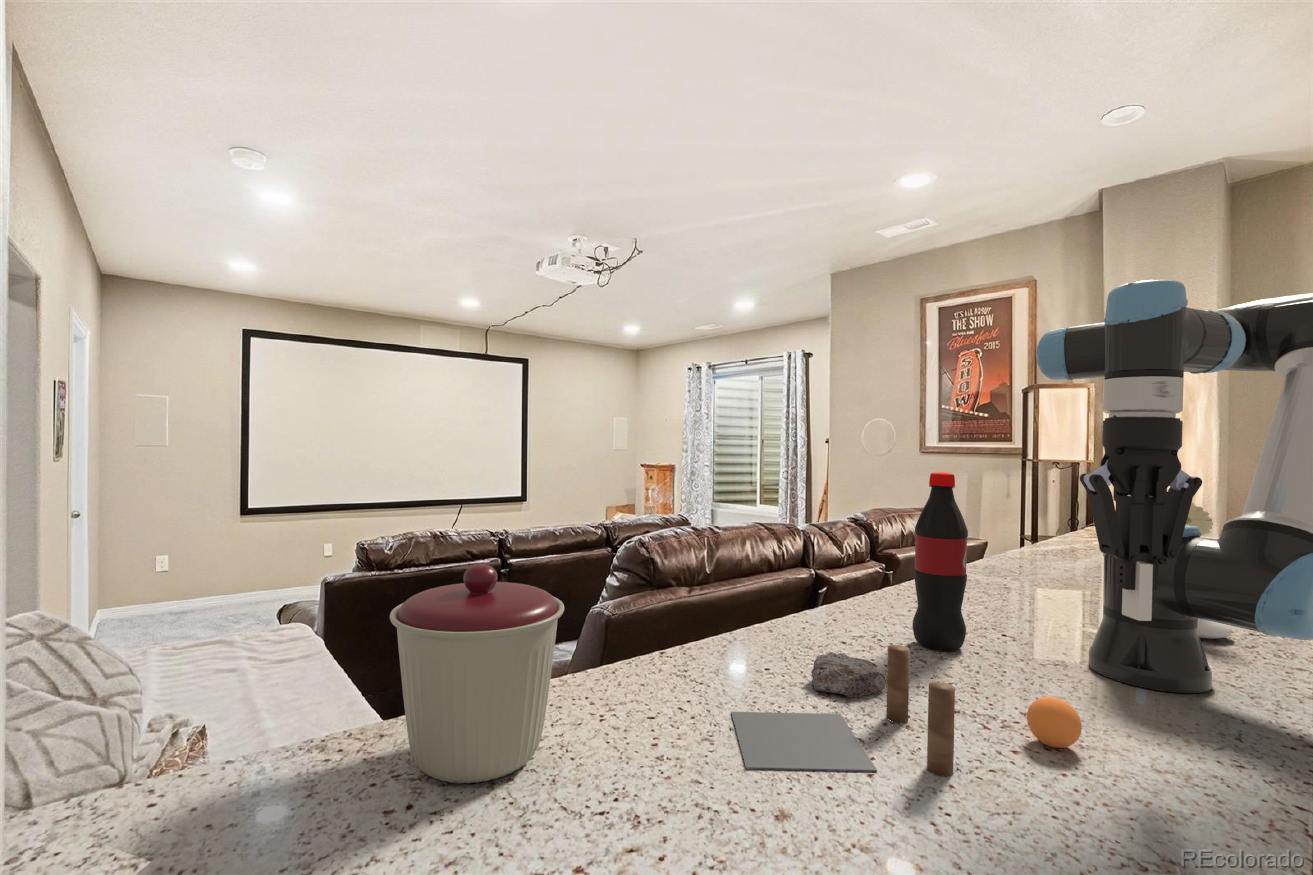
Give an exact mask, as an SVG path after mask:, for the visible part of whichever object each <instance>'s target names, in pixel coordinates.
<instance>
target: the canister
mask: <svg viewBox="0 0 1313 875" xmlns="http://www.w3.org/2000/svg"><path fill="white" fill-rule="evenodd" d="M564 612H565V605H564V603H563V602H562V600H560V599H559V598H557V597H555V596H553V595H552V594H551V593H549V592H548V591H547V590H544V589H542V588H540V587H537V586H534V585H533V586H532V585H529V584H526V583H517V582H509V581H498V573H497V570H496V569H495V568H494V567H493V566H491V565H488V564H482V563H481V564H475V565H472V566H470V567H467V569H466V570H465V572H464V573H463V583H462V582H461V583H454V584H447V585H443V586H442V585H441V586H436V587H433V588H429V589H426V590H423V591H420V592H418V593H416V594H413V595H412V596H410V597H409V598H407V599H406V600H405V601H404V602H403V603H400V604H399V605H397V606H395V607H394V608H393V609H392V610H391V612H390V614H389V620H390V622H391V624H392V625H393V626H394V627H395V628H396V630H397V631H396V634H397V635H396V636H397V644H398V647H397V648H398V656H399V667H400V678H401V687H402V688H401V689H402V699H403V707H404V715H405V723H406V730H407V739H408V746H409V749H410V752H411V756H412V758H413V760H414V762H415V764H416V765H417V766H418V768H419V769H420V771H422V772H423V773H424V774H426V775H427V776H429V777H432V778H433V779H434V780H440V781H442V782H449V784H451V783H452V784H453V783H457V784H464V783H466V784H472V783H477V784H478V783H480V782H488V781H490V780H496V779H498V778H501V777H505V776H506V775H510V774H513V773H514V772H515V771H517V770H519V769H520V768H522V766H523V767H524V766H525V765H526V764H527V763H528V761H530V760H531V759H532V758H533V756H534V754H535V753H536V751H537V749H538V747H539V744H540V742H541V738H542V734H543V731H544V725H545V719H546V712H547V706H548V700H549V692H550V686H551V679H552V678H551V677H552V670H553V661H554V653H555V646H556V639H557V638H556V637H557V631H558V630H557V628H558V619H560V618H561V617H562V616H563V614H564Z"/></svg>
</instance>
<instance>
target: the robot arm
mask: <svg viewBox="0 0 1313 875" xmlns="http://www.w3.org/2000/svg"><path fill="white" fill-rule="evenodd" d="M1188 305H1189V300H1188V299H1187V290H1186V287H1185V284H1184V283H1183V282H1181V281H1180V280H1179V281H1178V280H1175V279H1155V280H1154V279H1149V280H1140V281H1135V282H1128V283H1125V284H1122V285H1118V286H1116V287H1115V288H1113V289H1112V290H1111V291H1110V292H1108V294H1107V299H1106V307H1105V316H1104V319H1103V322H1097V323H1089V324H1083V325H1075V326H1064V327H1063V328H1057V329H1052V330H1049V331H1047V332H1045V333H1044V334H1043V335H1042V336H1041V337H1040V340H1039V341H1038V344H1037V346H1036V358H1037V359H1036V362H1037V365H1038V368H1039V370H1040V372H1041V373H1042V374H1043V375H1044V376H1045V377H1046V378H1048V379H1050V380H1054V381H1055V380H1056V381H1061V380H1064V381H1065V380H1067V381H1072V380H1082V379H1093V378H1103V379H1104V380H1103V390H1102V391H1103V395H1102V398H1103V399H1102V412H1104V413H1105V414H1108V417H1105V418H1104V420H1102V430H1101V431H1102V432H1101V434H1102V435H1101V437H1102V439H1101V441H1102V442H1101V444H1102V446H1103V448H1104V449H1103V450H1104V453H1103V454H1104V455H1103V457H1102V459H1101V460H1100V466H1099V467H1098V468H1097V469H1095V470H1093V471H1092V472H1090V473H1081V474H1080V476H1079V481H1080V483H1081V484H1082V486H1083V488H1084V489H1085V491H1086V493H1087V495H1088V500H1089V506H1090V510H1091V515H1092V518H1093V523H1094V529H1095V533H1096V538H1097V543H1098V547H1099V550H1100V552H1101V553H1102V557H1103V587H1102V588H1103V593H1102V594H1103V599H1102V601H1103V604H1102V605H1103V606H1102V609H1103V610H1102V620H1101V622H1100V623H1099V626H1098V629H1097V631H1096V633H1095V636H1094V637H1093V638H1094V639H1093V641H1092V644H1091V646H1090V647H1089V650H1088V666H1089V667H1090V668H1091V669H1092V670H1093V671H1095V672H1096V673H1098V674H1100V675H1102V676H1104V677H1107V678H1108V679H1111V678H1112V680H1115V681H1118V682H1121V683H1123V682H1124V684H1128V685H1131V686H1135V687H1139V688H1143V687H1144V688H1145V689H1148V690H1153V691H1154V690H1155V691H1161V692H1166V691H1168V693H1176V694H1177V693H1178V694H1199V693H1200V694H1201V693H1205V692H1206V693H1207V692H1208V691H1210V690H1211V689H1212V687H1213V685H1212V684H1213V672H1212V669H1211V667H1210V665H1209V662H1208V658H1207V655H1206V652H1205V649H1204V647H1203V644H1202V641H1201V638H1199V635H1198V628H1197V626H1198V618H1200V619H1204V620H1208V621H1213V622H1217V623H1222V624H1226V625H1229V626H1230V627H1236V628H1240V629H1245V630H1249V631H1254V632H1258V633H1262V634H1263V635H1265V636H1270V637H1282V638H1287V639H1293V640H1299V641H1313V292H1308V293H1306V292H1305V293H1299V294H1293V295H1291V294H1290V295H1285V296H1277V297H1269V298H1262V299H1259V300H1258V299H1257V300H1252V301H1250V302H1243V303H1240V304H1236V305H1232V306H1228V307H1224V308H1218V309H1215V310H1211V309H1209V310H1204V309H1203V310H1202V309H1199V308H1192V307H1187V306H1188ZM1220 371H1238V372H1239V371H1241V372H1275V373H1276V374H1277V376H1278V377H1279V378H1280V379H1281V380H1283V381H1282V382H1283V384H1282V385H1281V390H1280V393H1279V396H1278V399H1277V402H1276V405H1275V409H1274V412H1273V415H1272V418H1271V422H1270V425H1269V428H1268V430H1267V435H1266V437H1265V440H1264V442H1263V447H1262V450H1261V453H1260V456H1259V459H1258V462H1257V465H1256V469H1255V472H1254V475H1253V478H1252V481H1251V485H1250V488H1249V491H1248V494H1247V498H1246V500H1245V503H1244V507H1243V511H1242V514H1241V515H1240V516H1237V517H1234V518H1231V519H1228V520H1227V521H1226V522H1224V524H1223V526H1222V530H1221V533H1220V535H1219V538H1207V537H1202V535H1201V534H1202V533H1201V532H1200V529H1199V528H1198V527H1197V526H1188V525H1186V521H1187V518H1188V514H1189V510H1190V507H1191V503H1192V502H1193V499H1194V497H1195V495H1196V494H1197V493H1198V491H1199V490H1200V488H1201V486H1202V485H1203V480H1202V478H1201V477H1199V476H1191V475H1190V474H1188V473H1187V472H1185V471H1184V470H1182V462H1181V461H1180V458H1179V456H1178V455H1179V454H1178V453H1179V450H1180V449H1182V446H1183V427H1184V426H1183V425H1184V422H1183V420H1181V418H1180V417H1177V416H1176V415H1177V414H1180V413H1182V412H1183V410H1184V409H1183V408H1184V382H1185V381H1184V380H1185V379H1184V376H1185V374H1184V373H1185V372H1187V373H1191V374H1192V375H1193V374H1195V375H1196V374H1197V375H1199V374H1211V373H1217V372H1220ZM1111 485H1112V487H1113V491H1111V489H1110V487H1109V486H1111ZM1168 487H1169V488H1168ZM1112 492H1113V493H1112ZM1114 501H1115V502H1114ZM1144 688H1143V689H1144ZM1169 691H1170V692H1169Z"/></svg>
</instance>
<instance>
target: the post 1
mask: <svg viewBox="0 0 1313 875" xmlns="http://www.w3.org/2000/svg"><path fill="white" fill-rule="evenodd" d="M910 653H911V652H910V648H909V647H907V646H904V645H900V644H890V645H888V646H887V672H886V680H887V682H886V683H887V684H886V711H885V712H886V714H885V715H886V716H885V717H886V719H887V720H888V719H889V720H891V721H893V722H892V723H894V724H900V723H902V724H907V723H908V722H909V698H910V697H909V696H910V694H909V693H910V692H909V691H910ZM889 720H888V721H889ZM891 721H890V722H891Z"/></svg>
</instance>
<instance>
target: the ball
mask: <svg viewBox="0 0 1313 875" xmlns="http://www.w3.org/2000/svg"><path fill="white" fill-rule="evenodd" d="M1026 721H1027V725H1028V728H1029V730H1030V733H1032V735H1033V736H1034V737H1035V738H1036V739H1037V740H1038V741H1040V742H1041V743H1043V744H1044V745H1046V746H1049V747H1050V748H1051V747H1052V748H1056V749H1064V748H1067V747H1068V748H1069V747H1071V746H1072V745H1075V743H1077V741H1078V740H1079V739H1080V737H1081V734H1082V727H1083V726H1082V721H1081V718H1080V715H1079V713H1078V712H1077V710H1075V708H1074V707H1073V706H1072V705H1071V704H1069V702H1067V701H1065V700H1063V699H1061V698H1059V697H1054V696H1043V697H1039V698H1037V699H1035V700H1034V701H1033V702H1032V703H1031V704H1030V705H1029V707H1028V709H1027V711H1026Z"/></svg>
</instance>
